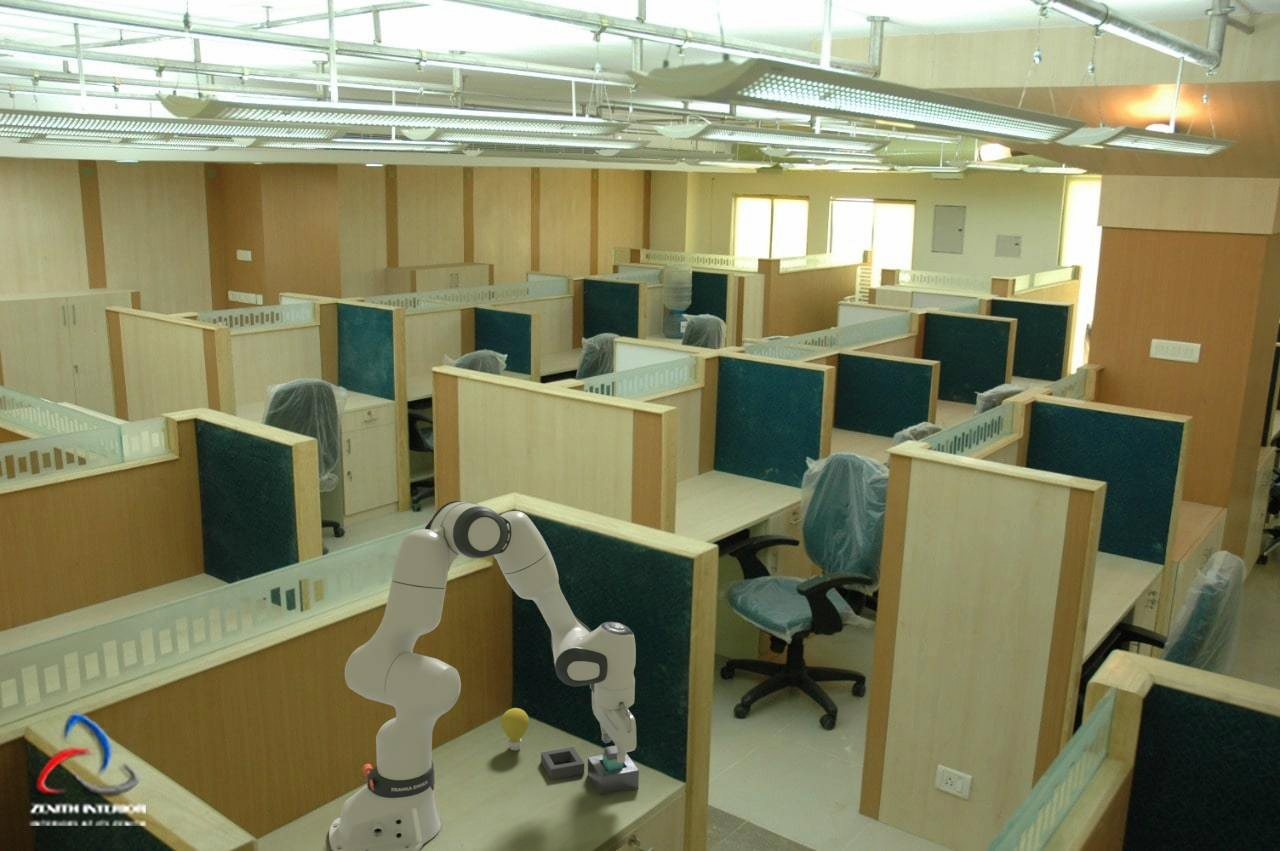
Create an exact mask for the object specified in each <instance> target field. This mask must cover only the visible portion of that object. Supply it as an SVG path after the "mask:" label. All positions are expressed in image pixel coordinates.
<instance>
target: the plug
mask: <svg viewBox="0 0 1280 851" xmlns="http://www.w3.org/2000/svg"><path fill="white" fill-rule="evenodd" d="M617 751H618V749H617V746H616V745H611V746H605V747H604V749H603V753H602V755H603V767H604V768H605V770H606V771H609V770H615V769H620V768H623V763H618V762H617V760H616V759H615V757H616V753H617Z"/></svg>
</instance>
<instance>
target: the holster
mask: <svg viewBox="0 0 1280 851" xmlns="http://www.w3.org/2000/svg"><path fill="white" fill-rule="evenodd" d="M568 760H569V762H568ZM557 762H559V763H562V764H558V763H557ZM564 762H566V763H564ZM567 762H568V763H567ZM556 763H557V764H556ZM540 764H541V765H542V767H543V766H544V767H543V769H544V770H545V773H548V774H547V776H548V777H549V779H550V780H555V779H554V778H557V779H562V778H565V777H572V775H573V776H579V775H582V774H583V775H584V774H585V762H584V760H583V759H582V758H581V756H580V754H579V753H578V752H577V750H576V748H575V747H574V746H572V747H566V748H560V749H553V750H548V751H542V752H541V753H540ZM555 764H556V765H555ZM559 777H560V778H559ZM561 777H562V778H561Z"/></svg>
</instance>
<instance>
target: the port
mask: <svg viewBox="0 0 1280 851" xmlns="http://www.w3.org/2000/svg"><path fill="white" fill-rule="evenodd" d="M639 773H640V772H639V768H638V767H637V766H636V764H635V763H634V762H633V760H632V759H631V757H630V756H629V755H628V752H627V753H626V755H625V762H623V768H620V769H615V770H609V771H606V770H605V768H604V767H603V754H599V755H595V756H589V757H587V776H588V778H589V780H590V781H591V783H592V784H593V786H594V787H595V789H596V791H597V792H598V794H599V795H600V796H604V795H610V794H611V795H612V794H616V793H621V792H626V791H631V790H632V791H633V790H638V789H639V777H640V776H639Z"/></svg>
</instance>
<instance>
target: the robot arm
mask: <svg viewBox="0 0 1280 851" xmlns="http://www.w3.org/2000/svg"><path fill="white" fill-rule="evenodd" d="M459 556H461V557H466V558H471V559H483V558H484V559H485V558H489V557H491V556H493V557H494V559H495V560H496V561H497V564H498V566H499V568H500V570H501V572H502V574H503V576H504V578H505V580H506V581H507V584H508V585H509V586H510V588H511V589H512V590H513V592H515V595H517V596H518V597H520V598H521V599H523V600H532V601H533V602H534V603H535V604H536V606H537V608H538V610H539V611H540V613H541V615H542V617H543V620H544V621H545V622H546V624H547V626H548V628H549V630H550V634H551V635H550V643H551V644H550V646H551V651H552V654H553V663H554V670H555V673H556V674H555V675H556V676H557V678H558V679H559V680H560V681H561V682H562V683H563V684H565V685H567V686H570V687H582V686H583V687H584V686H589V688H590V690H591V707H592V708H591V709H592V713H593V715H594V716H595V718H596V720H597V721H598V722H599V726H600V727H599V728H600V731H601V741H602V742H603V743H604V744H607V743H609V744H610V743H611V742H613V744H614V746H617V749H618V751H617V753H616V757H615V759H616V760H617V762H618V763H623V762H625V755H626V753H627V754H628V753H629V752H633V751H635V750H636V748H637V724H636V719H635V716H634V715H633V714H632V712H631V711H630V709H629V708H630V707H632V706H633V705H634V704H635V698H636V697H635V695H636V693H635V692H636V690H635V689H636V687H635V686H636V678H635V675H634V670H635V668H636V656H637V654H636V652H637V649H636V639H635V635H634V632H633V631H632V630H631V628H630V627H628V626H626V625H625V624H623V623H620V622H617V621H606V622H602V623H601V624H600V625H599V626H598V627H597V628H595V629H594V630H591V629H590V627H589V626H587V624H585V623H584V622H583V621H581V620H580V619H579V618H578V617H577V616H576V615H575V614H574V612H573V610H572V608H571V606H570V604H569V603H568V601H567V599H566V596H565V595H564V592H563V590H562V589H561V586H560V583H559V582H560V580H559V579H560V578H559V573H558V569H557V566H556V563H555V560H554V557H553V555H552V552H551V550H550V549H549V547H548V544H547V543H546V541H545V539H544V537H543V536H542V534H541V532H540V531H539V530H538V528H537V527H536V525H535V524H534V522H533V521H532V520H531V519H530V517H529V516H528V515H527V514H526V513H525V512H522V511H520V510H512V511H511V510H510V511H506V512H503V513H502V514H499V513H497V512H496V511H495V510H493V509H491V508H489V507H486V506H482V505H480V504H479V503H475V502H471V501H470V502H469V501H462V500H453V501H450V502H449V501H448V502H447V503H445V504H444V505H442V506H441V507H439V508H438V509H437V511H436V512H435V513H434V515H433V517H432V518H431V520H429V522H428V523H427V524H426V525H425V527H424V528H423V529H416V530H413V531H412V530H411V531H410V532H408V533H407V534H406V535H405V537H404V538H403V539H402V543H401V544H400V548H399V550H398V554H397V556H396V559H395V560H396V561H395V563H394V567H393V571H392V577H391V582H390V587H389V594H388V597H387V602H386V606H385V610H384V614H383V618H382V620H381V622H380V625H379V627H378V628H377V629H376V632H374V634H373V635H372V636H371V638H370V639H369V640H368V641H366V642H365V643H364V644H362V645H360V646H358V647H356V649H355V650H354V651H353V652H352V653H351V654H350V656H349V657H348V658H347V661H346V663H345V667H344V679H345V682H346V683H345V684H346V685H347V687H348V689H349V690H351V691H353V692H355V693H357V694H358V695H359V696H361V697H363V698H365V699H368V700H371V701H374V702H379V703H380V704H381V703H382V704H386V705H389V706H392V707H394V709H395V715H396V716H395V717H393V718H391V719H389V720H387V721H386V722H384V724H383V725H382V726H380V728H379V730H378V731H377V734H376V737H375V741H376V742H375V745H376V746H375V748H376V751H375V752H376V753H375V754H376V765H375V766H374V768H373V765H371V763H364V765H363V766H362V768H361V769H362V774H363V775H364V776H365V777H366V785H364V786H363V787H362V788H361V789H360V788H359V790H358V791H357V792H355V793H354V794H352V795H351V796H350V797H349V798H347V800H346V801H345V802H344V804H343V805H342V808H341V813H340V817H337V818H336V819H334V820H333V822H332V823H331V825H330V826H329V831H328V832H329V833H328V842H329V846H330V848H331V851H420V849H421V848H422V847H423V845H424V844H426V843H427V842H429V841H430V840H431V839H433V838H434V837H435V836H437V834H438V833H439V831H440V830H441V826H442V824H441V820H440V819H441V818H440V816H439V814H438V810H437V806H436V801H435V793H434V790H435V784H436V783H435V782H436V780H435V779H436V778H435V776H436V774H435V766H434V765H435V764H434V763H433V762H434V761H433V759H432V758H433V757H432V755H433V754H432V752H433V750H432V746H433V732H434V729H435V728H434V727H435V724H436V723H437V721H438V720H439V718H440V717H441V716H442V715H444V714H446V713H447V712H449V711H450V710H451V709H452V708H454V707H455V704H456V703H457V701H458V700H459V697H460V694H461V689H462V682H461V681H462V680H461V677H460V674H459V671H458V670H457V668H455V667H453V666H452V665H450V664H448V663H447V662H445V661H442V660H440V659H438V658H435V657H431V656H428V655H423V654H419V653H415V652H413V651H414V646H416V645H415V644H416V642H417V640H418V639H419V638H420V636H423V635H426V634H428V633H431V632H432V631H433V630H435V629H436V628H437V627H438V626H439V624H440V622H441V619H442V614H443V607H444V602H445V595H446V590H447V584H448V583H447V582H448V574H449V572H450V568H451V566H452V564H453V562H454V561H455V559H457V557H459Z"/></svg>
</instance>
